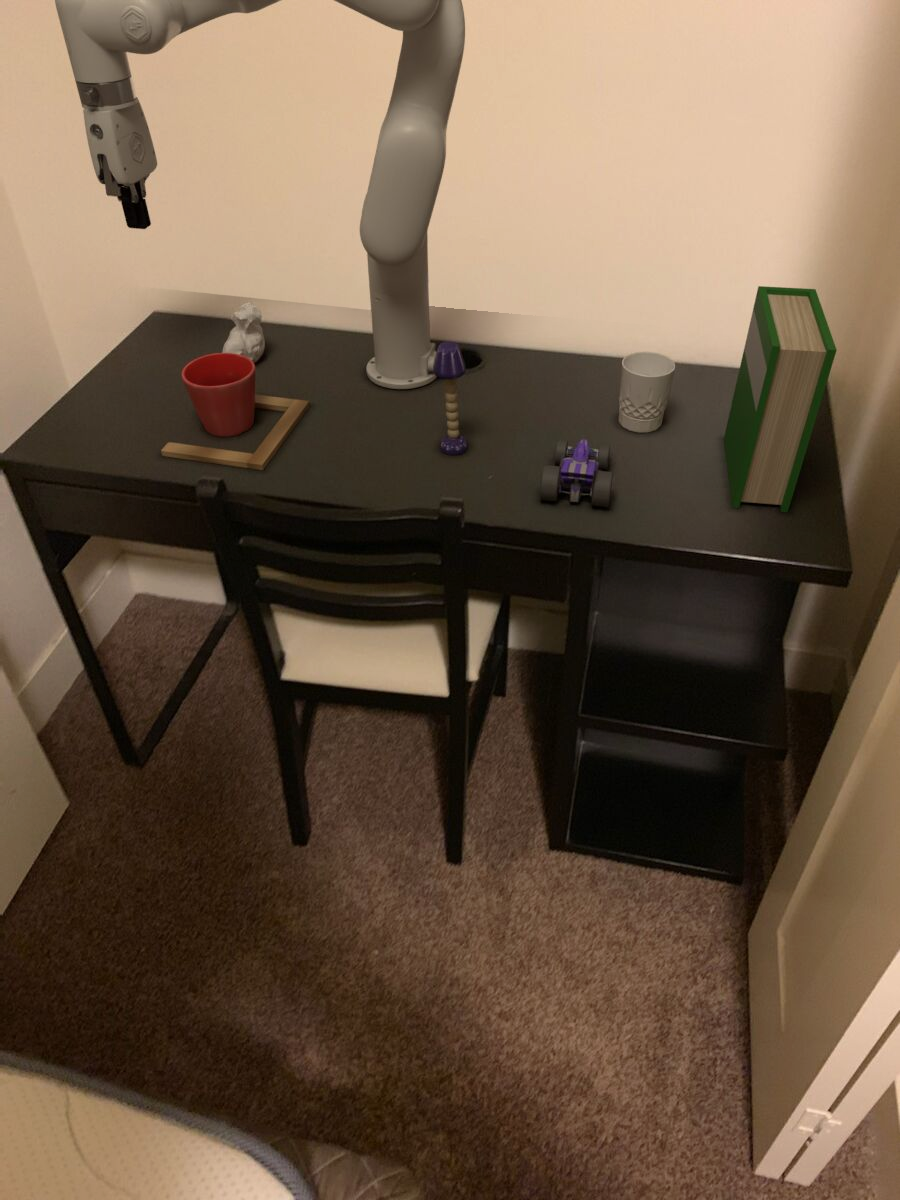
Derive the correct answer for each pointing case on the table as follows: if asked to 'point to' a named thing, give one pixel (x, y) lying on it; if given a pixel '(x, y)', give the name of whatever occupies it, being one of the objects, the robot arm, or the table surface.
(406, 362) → the robot arm
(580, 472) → the toy race car
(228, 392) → the flower pot
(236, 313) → the bust
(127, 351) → the table surface
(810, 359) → the hardback book
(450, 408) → the toy lamp
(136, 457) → the table surface
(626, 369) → the white cup
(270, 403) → the frame
